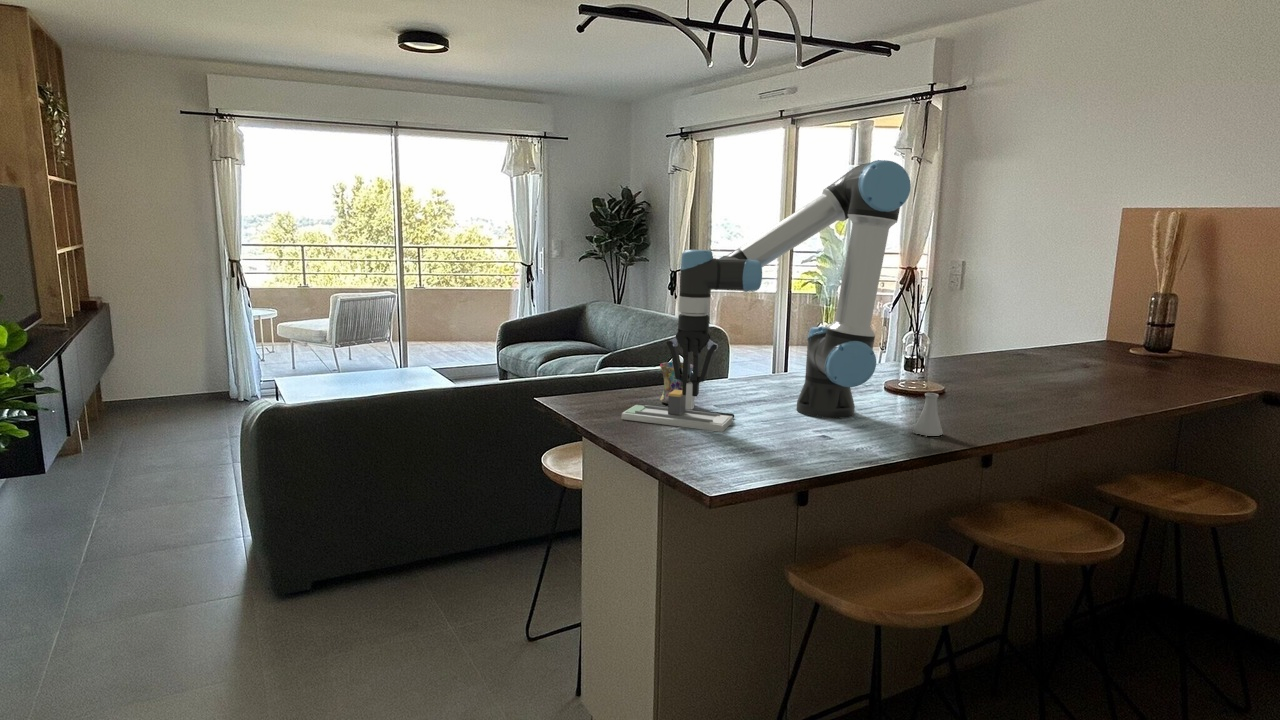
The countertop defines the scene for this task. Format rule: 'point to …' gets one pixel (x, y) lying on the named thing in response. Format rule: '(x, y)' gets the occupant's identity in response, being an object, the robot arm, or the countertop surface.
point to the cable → (714, 412)
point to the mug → (671, 380)
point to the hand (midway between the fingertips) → (689, 408)
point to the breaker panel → (678, 418)
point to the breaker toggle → (676, 403)
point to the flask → (929, 418)
